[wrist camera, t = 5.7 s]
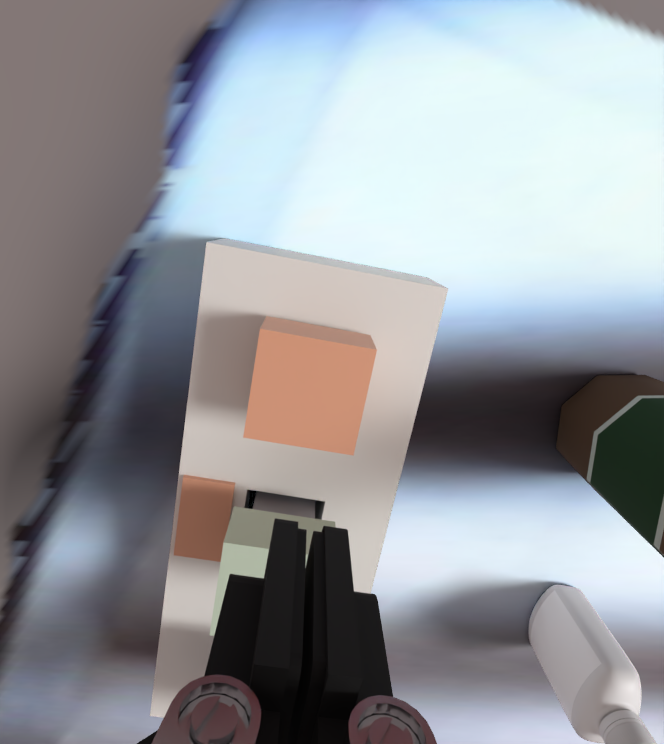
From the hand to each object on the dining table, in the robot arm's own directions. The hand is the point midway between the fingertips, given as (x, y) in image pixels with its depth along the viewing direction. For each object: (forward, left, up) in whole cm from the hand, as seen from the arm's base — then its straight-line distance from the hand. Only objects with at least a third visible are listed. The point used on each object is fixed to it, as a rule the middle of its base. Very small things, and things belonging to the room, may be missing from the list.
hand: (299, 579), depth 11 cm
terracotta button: (0, 0, -20) cm, 20 cm away
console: (-9, 0, -21) cm, 23 cm away
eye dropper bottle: (-16, -21, -21) cm, 34 cm away
